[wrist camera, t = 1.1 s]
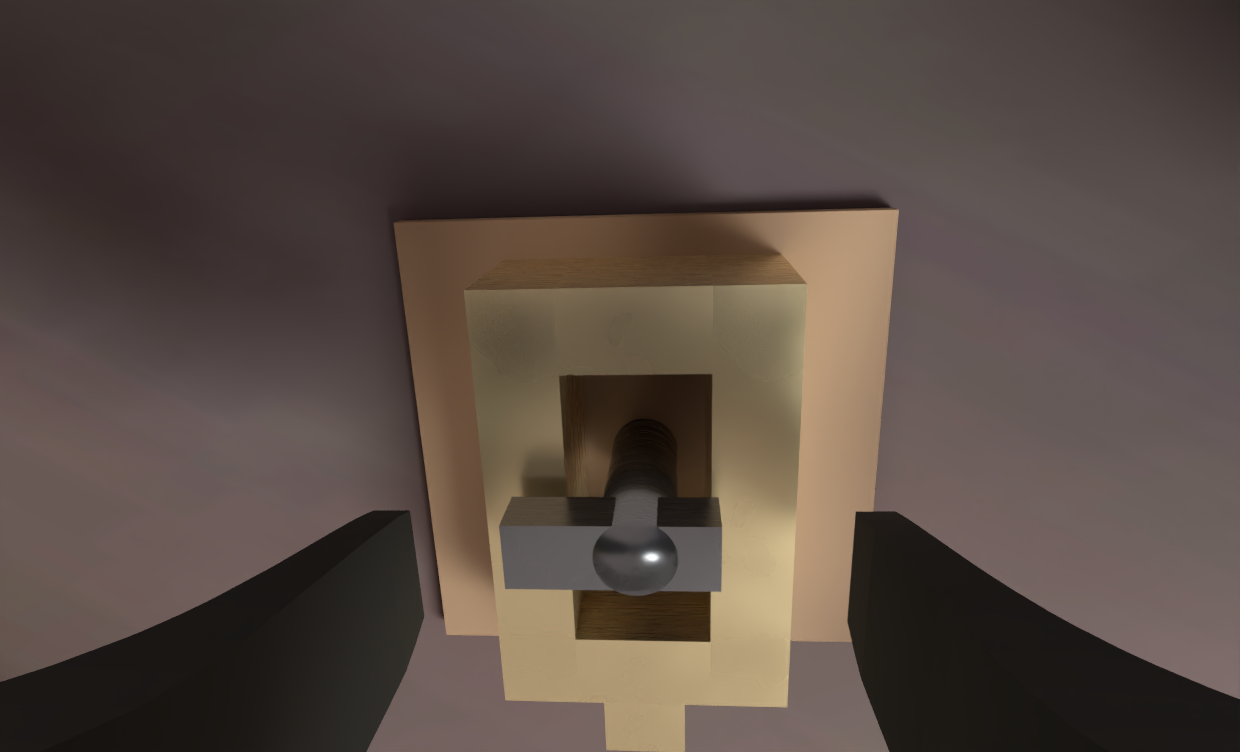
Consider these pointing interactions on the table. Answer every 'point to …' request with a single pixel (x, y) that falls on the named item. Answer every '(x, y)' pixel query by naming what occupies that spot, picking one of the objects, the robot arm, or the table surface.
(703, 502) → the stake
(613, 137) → the table surface
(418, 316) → the stake base
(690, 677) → the gold hollow block
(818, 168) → the table surface
